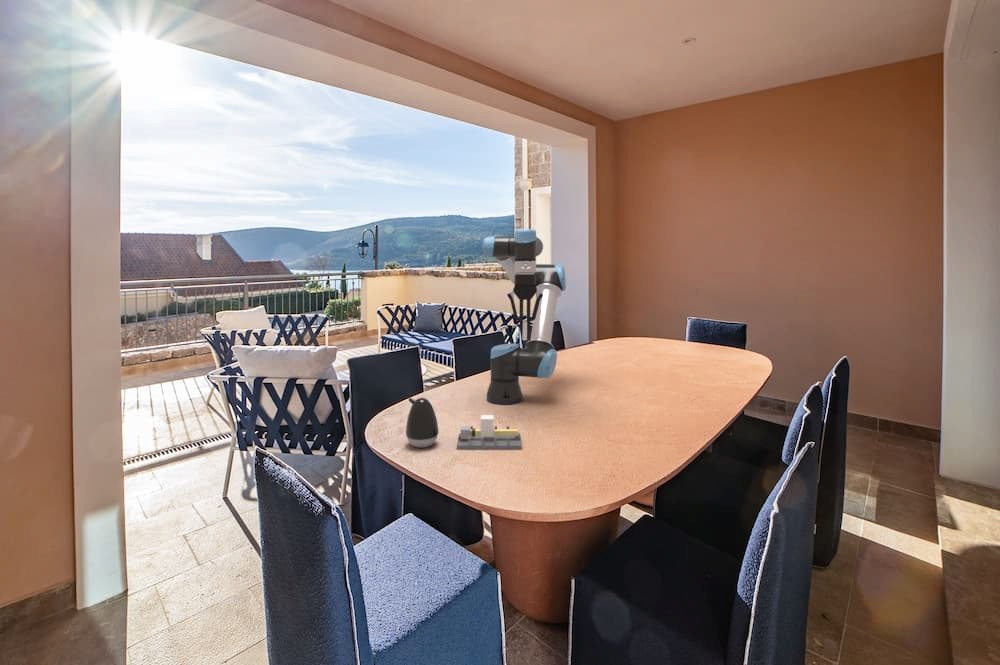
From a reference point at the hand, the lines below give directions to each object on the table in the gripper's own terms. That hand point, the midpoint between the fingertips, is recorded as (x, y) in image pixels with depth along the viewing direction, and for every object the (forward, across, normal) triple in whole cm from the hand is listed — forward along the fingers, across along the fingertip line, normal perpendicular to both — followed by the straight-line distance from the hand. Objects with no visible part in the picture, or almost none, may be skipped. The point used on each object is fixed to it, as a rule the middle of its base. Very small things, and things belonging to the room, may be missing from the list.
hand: (524, 339), depth 175 cm
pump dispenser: (+30, -34, -26) cm, 52 cm away
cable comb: (+29, -12, -25) cm, 40 cm away
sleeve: (+27, -13, -25) cm, 38 cm away
